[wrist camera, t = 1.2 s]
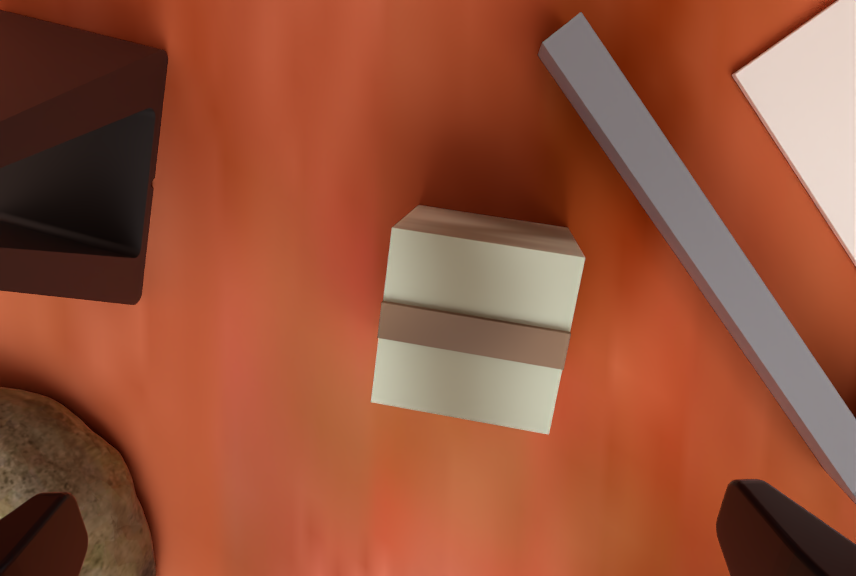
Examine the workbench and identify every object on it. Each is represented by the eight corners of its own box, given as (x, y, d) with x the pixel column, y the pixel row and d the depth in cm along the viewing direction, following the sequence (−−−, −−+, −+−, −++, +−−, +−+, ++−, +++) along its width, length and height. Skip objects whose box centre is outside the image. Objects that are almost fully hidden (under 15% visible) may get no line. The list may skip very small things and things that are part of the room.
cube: (567, 227, 21) (586, 259, 16) (540, 366, 22) (549, 437, 17) (418, 204, 21) (390, 228, 16) (400, 342, 22) (369, 405, 17)
